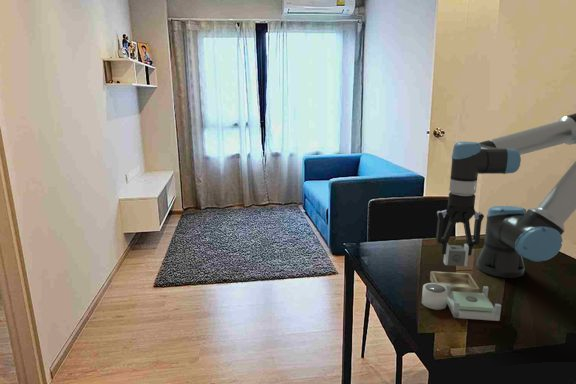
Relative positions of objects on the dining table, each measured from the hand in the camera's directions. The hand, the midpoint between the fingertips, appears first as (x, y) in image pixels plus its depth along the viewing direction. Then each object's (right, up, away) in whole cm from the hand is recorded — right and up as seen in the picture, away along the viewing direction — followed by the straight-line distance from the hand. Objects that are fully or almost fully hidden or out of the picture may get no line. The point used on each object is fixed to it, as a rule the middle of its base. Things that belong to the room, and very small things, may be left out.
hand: (454, 263), depth 130 cm
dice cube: (0, 0, +1) cm, 1 cm away
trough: (0, -8, +2) cm, 9 cm away
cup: (-9, -11, -7) cm, 16 cm away
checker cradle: (0, -11, -10) cm, 15 cm away
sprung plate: (0, -9, -11) cm, 14 cm away
